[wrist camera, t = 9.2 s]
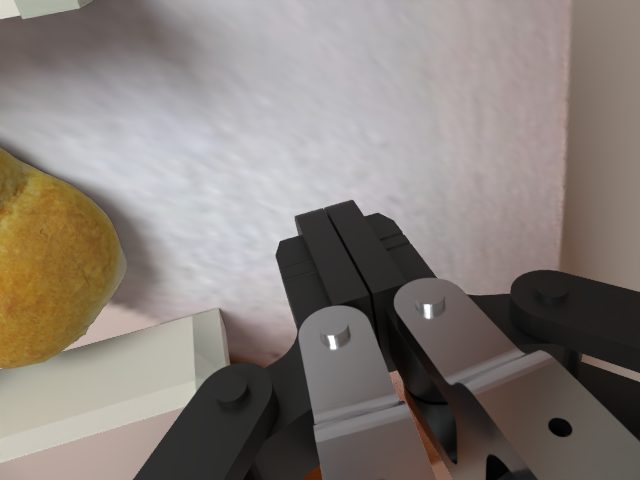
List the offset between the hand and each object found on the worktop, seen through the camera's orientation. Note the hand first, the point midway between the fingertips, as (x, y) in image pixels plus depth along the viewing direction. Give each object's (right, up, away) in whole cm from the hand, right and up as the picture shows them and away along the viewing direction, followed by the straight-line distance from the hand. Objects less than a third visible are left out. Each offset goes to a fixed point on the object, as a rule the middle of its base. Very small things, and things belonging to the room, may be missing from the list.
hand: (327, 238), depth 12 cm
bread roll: (-12, 0, +6) cm, 14 cm away
